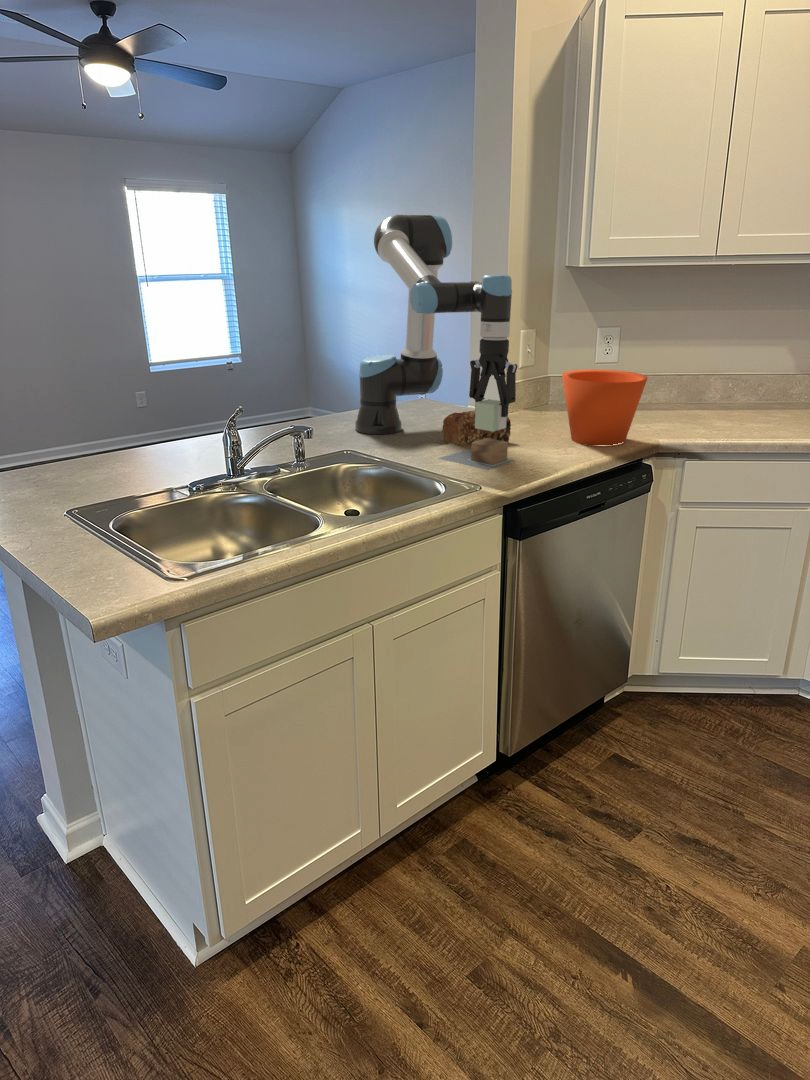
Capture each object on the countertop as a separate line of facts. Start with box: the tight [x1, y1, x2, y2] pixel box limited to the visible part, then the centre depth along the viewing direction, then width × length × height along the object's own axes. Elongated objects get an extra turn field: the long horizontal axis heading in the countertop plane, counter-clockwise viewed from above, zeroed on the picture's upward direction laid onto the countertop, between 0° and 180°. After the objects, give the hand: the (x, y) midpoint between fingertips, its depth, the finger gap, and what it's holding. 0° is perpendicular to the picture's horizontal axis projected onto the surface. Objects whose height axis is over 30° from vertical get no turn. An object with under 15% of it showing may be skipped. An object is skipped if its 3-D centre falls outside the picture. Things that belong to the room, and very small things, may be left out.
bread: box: [441, 410, 512, 446], centre depth 225 cm, size 19×11×10 cm, turn 114°
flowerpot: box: [561, 369, 648, 446], centre depth 227 cm, size 25×25×20 cm
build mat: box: [437, 449, 517, 471], centre depth 204 cm, size 17×13×1 cm
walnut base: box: [470, 438, 509, 465], centre depth 202 cm, size 7×7×5 cm
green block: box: [474, 398, 508, 432], centre depth 199 cm, size 6×6×7 cm
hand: (490, 426), depth 200 cm, fingers closed on green block, 6 cm apart
